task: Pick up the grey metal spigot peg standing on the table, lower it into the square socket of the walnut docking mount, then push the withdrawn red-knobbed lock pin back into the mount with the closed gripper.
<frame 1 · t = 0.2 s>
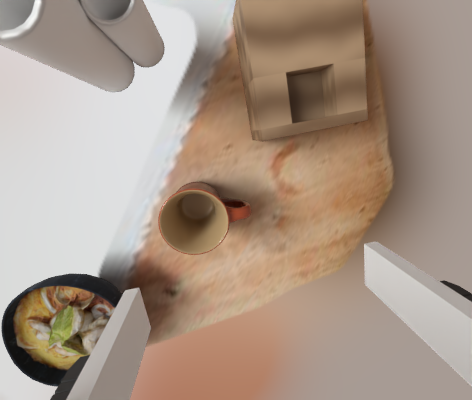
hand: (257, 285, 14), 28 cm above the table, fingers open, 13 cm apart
vase: (123, 54, 35), on the table
mug: (207, 200, 41), on the table
bowl: (94, 297, 44), on the table
dock: (289, 78, 38), on the table
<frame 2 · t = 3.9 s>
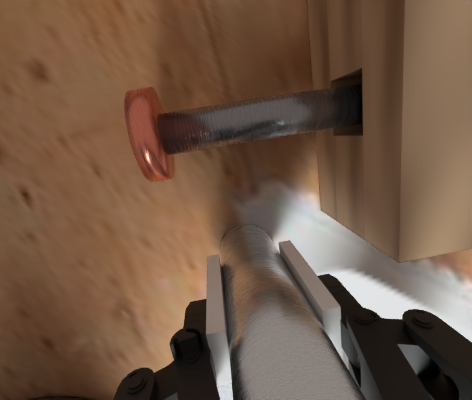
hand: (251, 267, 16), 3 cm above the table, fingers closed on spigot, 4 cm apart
spigot: (246, 249, 19), on the table, touching gripper
dock: (438, 93, 17), on the table
lock pin: (275, 117, 13), point 4 cm above the table, slide at 4.5 cm
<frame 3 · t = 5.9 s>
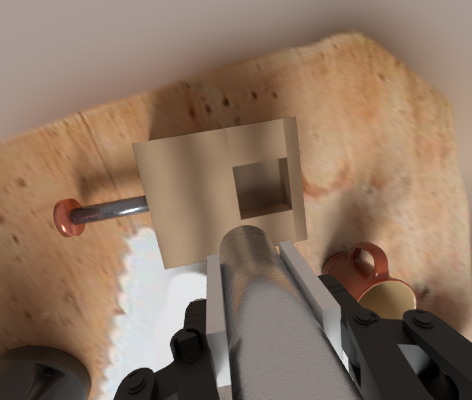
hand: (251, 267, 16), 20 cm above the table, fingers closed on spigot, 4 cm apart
mug: (340, 260, 41), on the table
spigot: (245, 250, 19), point 17 cm above the table, touching gripper
dock: (226, 182, 35), on the table
lock pin: (124, 207, 30), point 4 cm above the table, slide at 4.5 cm
when the fingers open (9 cm above the table, at t = 8.2 s): spigot drops 2 cm, resting on dock.
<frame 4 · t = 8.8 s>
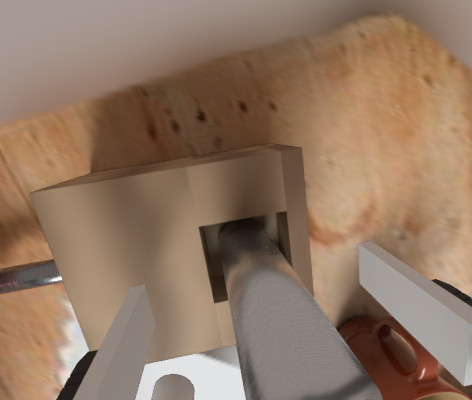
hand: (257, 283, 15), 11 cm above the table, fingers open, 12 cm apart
mug: (358, 324, 30), on the table
spigot: (242, 239, 21), point 5 cm above the table, touching dock
dock: (203, 227, 25), on the table
lock pin: (46, 272, 20), point 4 cm above the table, slide at 4.5 cm
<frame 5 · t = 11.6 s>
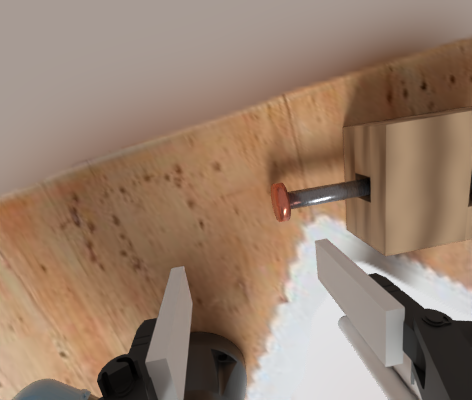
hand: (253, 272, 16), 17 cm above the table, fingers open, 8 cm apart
vase: (361, 319, 40), on the table
dock: (408, 170, 34), on the table
lock pin: (332, 192, 29), point 4 cm above the table, slide at 4.5 cm
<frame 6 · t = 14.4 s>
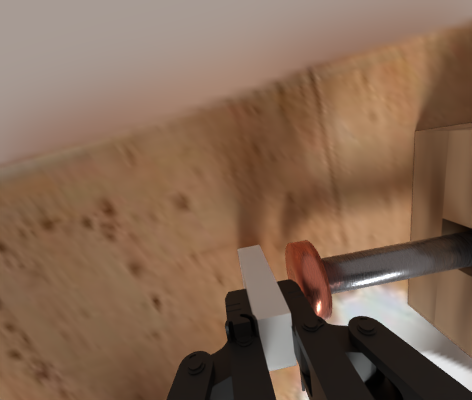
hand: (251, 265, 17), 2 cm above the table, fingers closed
lock pin: (407, 260, 15), point 4 cm above the table, slide at 4.3 cm, touching gripper
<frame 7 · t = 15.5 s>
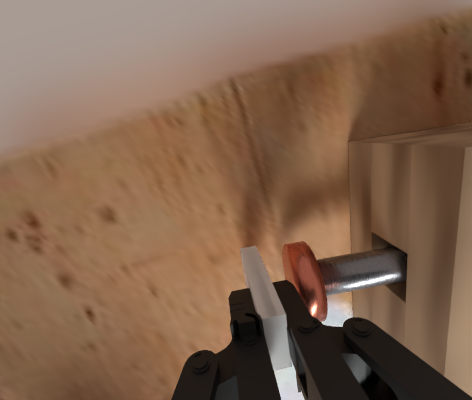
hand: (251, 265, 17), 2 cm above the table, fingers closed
dock: (465, 217, 19), on the table
lock pin: (405, 261, 15), point 4 cm above the table, slide at -0.4 cm, touching gripper
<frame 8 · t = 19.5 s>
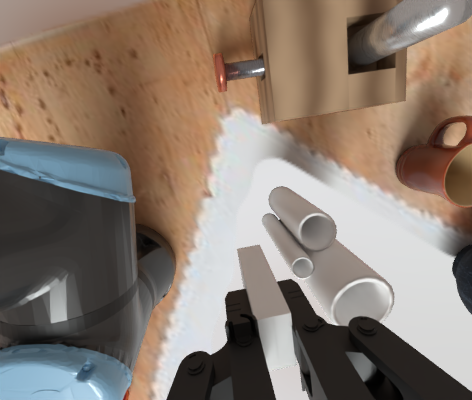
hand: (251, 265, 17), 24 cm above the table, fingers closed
vase: (284, 219, 43), on the table
coffee cup: (113, 394, 48), on the table
mug: (412, 156, 42), on the table
bowl: (470, 262, 49), on the table
spigot: (354, 53, 33), point 5 cm above the table, touching dock
dock: (315, 65, 37), on the table
lock pin: (267, 66, 32), point 4 cm above the table, slide at 0.0 cm
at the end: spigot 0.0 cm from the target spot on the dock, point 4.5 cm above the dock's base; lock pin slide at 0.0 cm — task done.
